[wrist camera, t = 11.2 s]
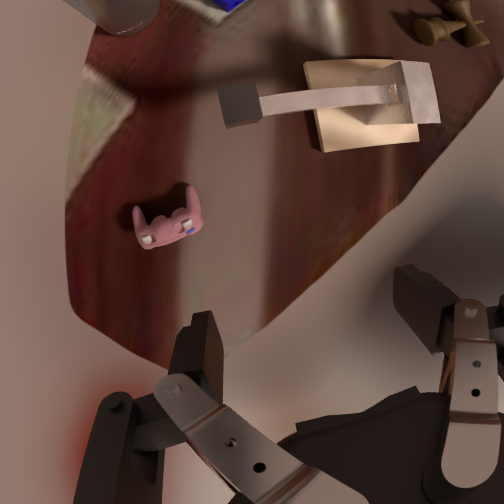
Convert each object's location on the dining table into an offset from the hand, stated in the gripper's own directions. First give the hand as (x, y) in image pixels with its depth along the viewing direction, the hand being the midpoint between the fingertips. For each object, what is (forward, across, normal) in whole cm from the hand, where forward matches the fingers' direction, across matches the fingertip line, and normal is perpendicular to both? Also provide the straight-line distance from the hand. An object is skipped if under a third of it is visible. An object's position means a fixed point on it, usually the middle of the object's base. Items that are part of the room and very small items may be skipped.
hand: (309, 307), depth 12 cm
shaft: (+21, -7, -10) cm, 24 cm away
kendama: (+31, -40, -25) cm, 56 cm away
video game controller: (+30, +13, 0) cm, 33 cm away
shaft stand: (+30, -18, -10) cm, 36 cm away
